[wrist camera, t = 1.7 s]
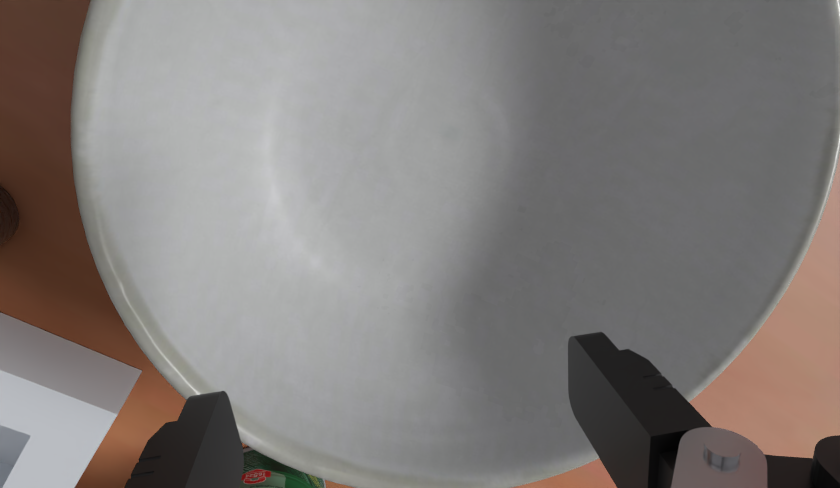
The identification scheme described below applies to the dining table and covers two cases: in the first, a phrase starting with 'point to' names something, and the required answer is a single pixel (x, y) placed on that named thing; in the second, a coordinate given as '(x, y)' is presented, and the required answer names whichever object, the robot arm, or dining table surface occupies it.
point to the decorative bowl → (446, 208)
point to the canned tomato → (273, 473)
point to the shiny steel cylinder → (7, 216)
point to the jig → (53, 405)
